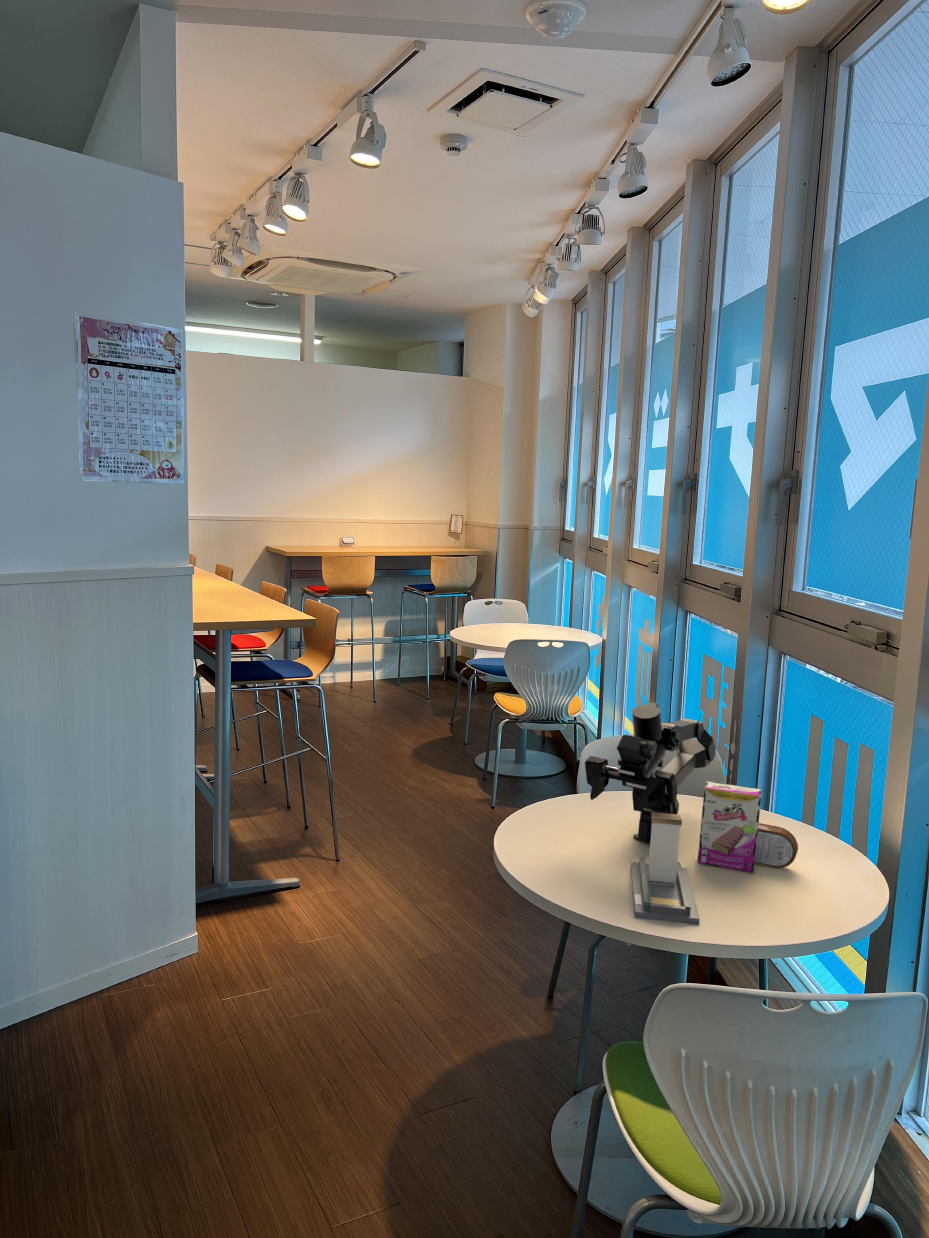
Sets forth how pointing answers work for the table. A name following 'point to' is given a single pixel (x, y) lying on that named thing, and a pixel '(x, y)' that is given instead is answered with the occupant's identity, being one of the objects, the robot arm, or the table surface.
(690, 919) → the switch housing
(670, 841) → the switch tab
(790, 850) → the tin
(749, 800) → the candy bar box
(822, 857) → the table surface
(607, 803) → the table surface
